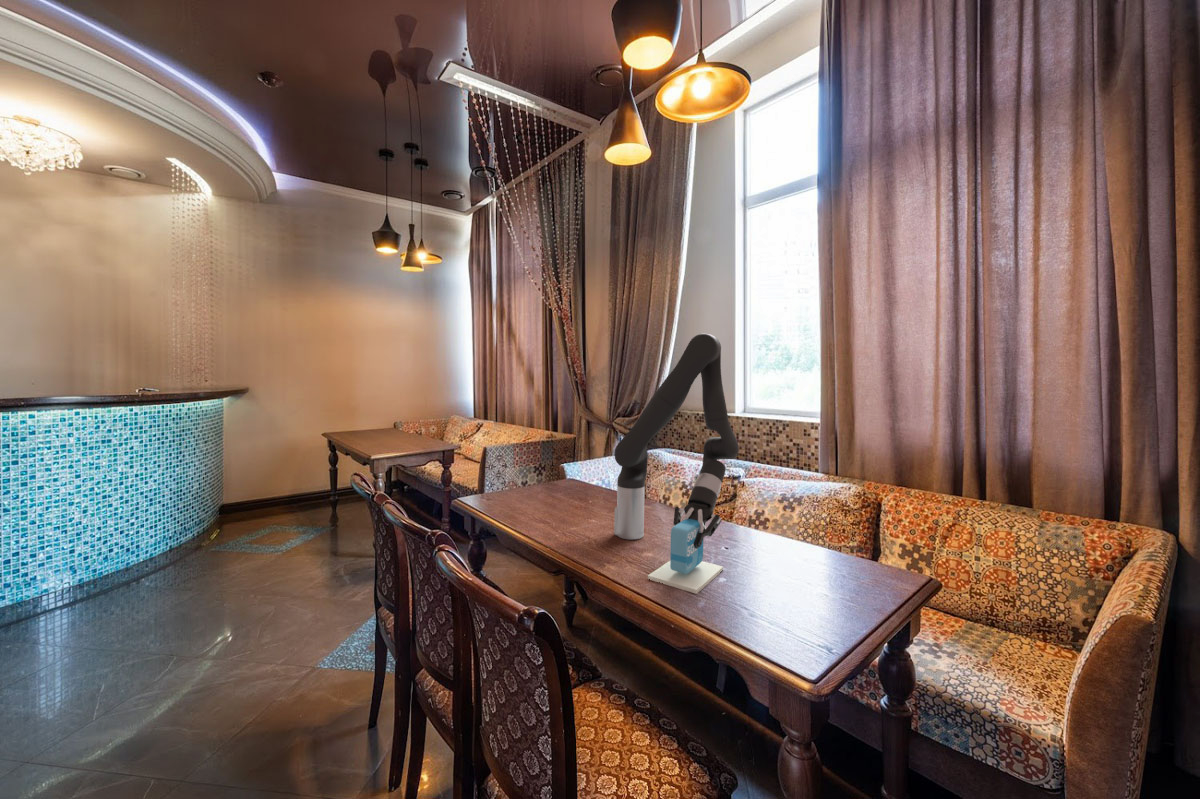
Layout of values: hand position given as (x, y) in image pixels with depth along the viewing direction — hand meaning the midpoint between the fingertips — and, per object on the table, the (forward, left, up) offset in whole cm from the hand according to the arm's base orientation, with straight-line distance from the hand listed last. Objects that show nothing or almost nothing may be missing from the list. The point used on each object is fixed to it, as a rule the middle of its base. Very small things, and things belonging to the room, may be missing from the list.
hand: (686, 544), depth 127 cm
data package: (0, 0, -6) cm, 6 cm away
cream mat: (0, 0, -8) cm, 8 cm away
